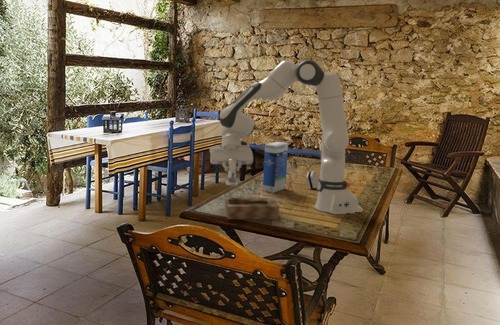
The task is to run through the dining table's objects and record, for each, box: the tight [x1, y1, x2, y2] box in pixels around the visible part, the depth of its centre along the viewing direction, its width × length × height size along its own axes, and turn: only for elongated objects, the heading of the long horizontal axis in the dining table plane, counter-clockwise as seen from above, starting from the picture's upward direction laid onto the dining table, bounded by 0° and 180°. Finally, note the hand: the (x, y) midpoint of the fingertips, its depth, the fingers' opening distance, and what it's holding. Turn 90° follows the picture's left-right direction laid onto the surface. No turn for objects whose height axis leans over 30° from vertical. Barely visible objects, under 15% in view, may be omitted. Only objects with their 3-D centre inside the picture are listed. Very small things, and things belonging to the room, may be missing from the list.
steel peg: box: [225, 158, 239, 187], centre depth 198 cm, size 6×6×12 cm
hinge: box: [305, 170, 320, 191], centre depth 248 cm, size 17×5×10 cm, turn 161°
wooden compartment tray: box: [224, 197, 280, 220], centre depth 189 cm, size 22×14×6 cm, turn 97°
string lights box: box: [262, 141, 289, 194], centre depth 234 cm, size 13×8×26 cm, turn 146°
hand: (232, 170), depth 198 cm, fingers closed on steel peg, 4 cm apart
